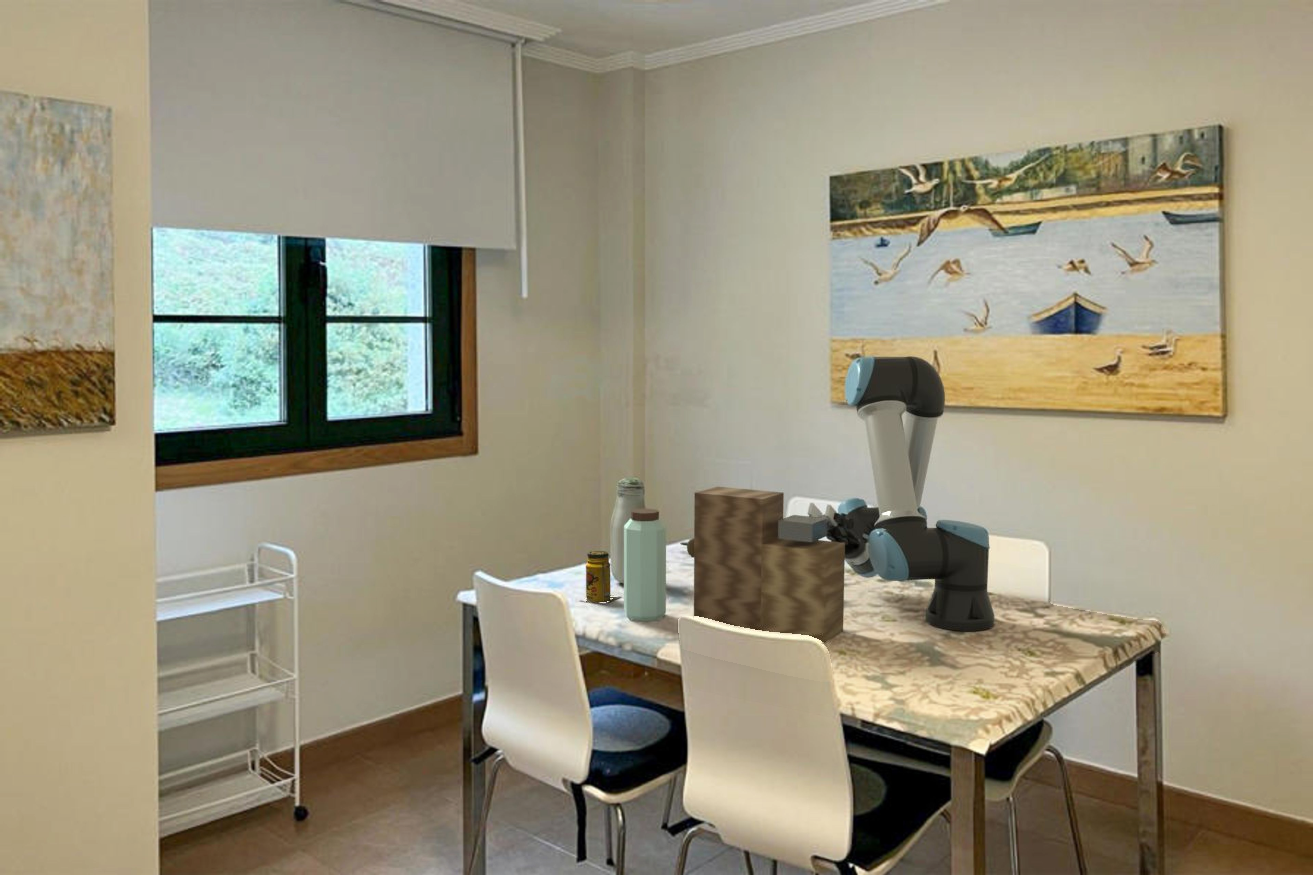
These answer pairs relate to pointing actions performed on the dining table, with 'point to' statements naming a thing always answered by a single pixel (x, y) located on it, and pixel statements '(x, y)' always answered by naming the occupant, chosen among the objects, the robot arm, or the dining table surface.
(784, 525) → the grey t-shaped block
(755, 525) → the stepped stand
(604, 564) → the condiment
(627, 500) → the glass bottle
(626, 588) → the water bottle
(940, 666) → the dining table surface
